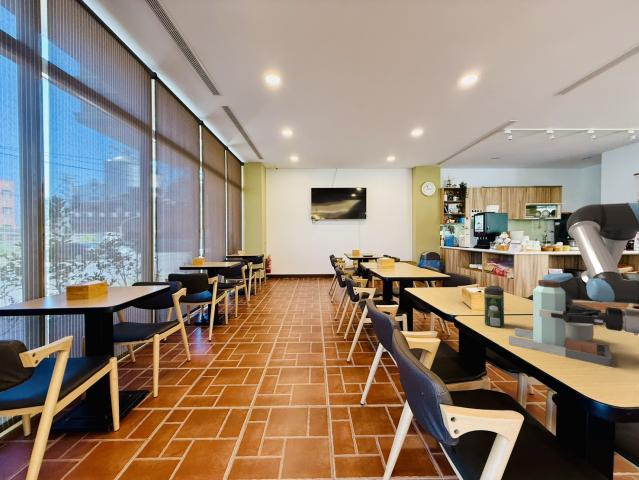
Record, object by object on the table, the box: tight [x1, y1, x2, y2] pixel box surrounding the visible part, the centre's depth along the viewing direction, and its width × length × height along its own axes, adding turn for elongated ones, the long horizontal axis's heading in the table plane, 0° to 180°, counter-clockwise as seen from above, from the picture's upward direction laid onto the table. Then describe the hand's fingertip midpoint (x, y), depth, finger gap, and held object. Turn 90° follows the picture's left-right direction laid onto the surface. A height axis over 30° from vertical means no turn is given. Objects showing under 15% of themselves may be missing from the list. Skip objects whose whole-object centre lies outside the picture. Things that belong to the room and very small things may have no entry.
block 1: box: [565, 339, 581, 352], centre depth 100 cm, size 4×4×4 cm
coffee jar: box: [483, 285, 505, 328], centre depth 133 cm, size 10×8×19 cm
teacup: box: [565, 322, 595, 342], centre depth 113 cm, size 14×11×8 cm
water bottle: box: [532, 279, 566, 347], centre depth 105 cm, size 10×10×25 cm
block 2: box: [581, 341, 598, 355], centre depth 98 cm, size 4×4×4 cm
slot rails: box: [508, 327, 567, 357], centre depth 107 cm, size 16×15×3 cm
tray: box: [564, 338, 613, 367], centre depth 98 cm, size 11×16×2 cm
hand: (541, 309), depth 107 cm, fingers open, 13 cm apart
